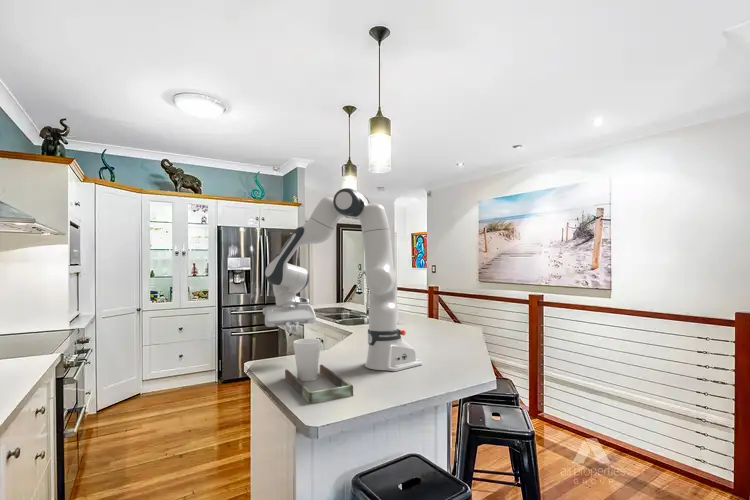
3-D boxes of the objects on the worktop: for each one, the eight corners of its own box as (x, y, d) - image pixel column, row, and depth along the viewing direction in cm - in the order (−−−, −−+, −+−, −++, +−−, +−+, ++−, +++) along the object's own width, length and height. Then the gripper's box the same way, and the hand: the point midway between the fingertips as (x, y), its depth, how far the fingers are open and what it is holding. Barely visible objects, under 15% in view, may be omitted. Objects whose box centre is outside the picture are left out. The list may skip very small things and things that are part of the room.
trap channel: (321, 372, 139) (321, 364, 139) (353, 395, 114) (353, 385, 114) (285, 378, 132) (285, 369, 132) (309, 403, 107) (309, 393, 108)
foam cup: (322, 381, 129) (322, 342, 129) (294, 383, 126) (294, 344, 127) (318, 373, 138) (318, 337, 138) (292, 375, 135) (292, 339, 136)
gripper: (262, 301, 150) (268, 329, 141) (312, 298, 160) (320, 325, 151) (260, 311, 154) (265, 339, 145) (309, 308, 163) (316, 334, 154)
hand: (293, 332), depth 148 cm, fingers closed
